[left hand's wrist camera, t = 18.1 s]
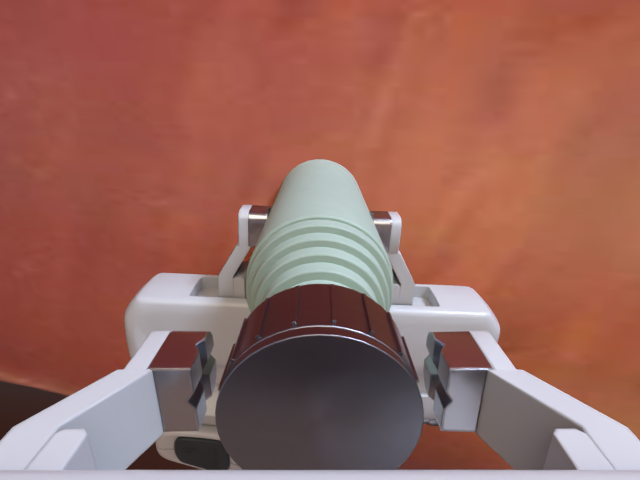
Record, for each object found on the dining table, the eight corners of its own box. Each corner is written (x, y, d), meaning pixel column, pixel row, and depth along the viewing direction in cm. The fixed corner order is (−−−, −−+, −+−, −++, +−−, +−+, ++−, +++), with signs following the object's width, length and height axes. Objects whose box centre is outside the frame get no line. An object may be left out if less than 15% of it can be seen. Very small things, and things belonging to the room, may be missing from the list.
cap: (440, 357, 10) (471, 422, 8) (320, 448, 11) (320, 525, 9) (319, 245, 9) (320, 289, 7) (199, 358, 10) (169, 424, 8)
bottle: (328, 252, 27) (342, 520, 10) (263, 209, 26) (155, 426, 9) (376, 191, 25) (492, 384, 8) (309, 142, 24) (287, 250, 7)
